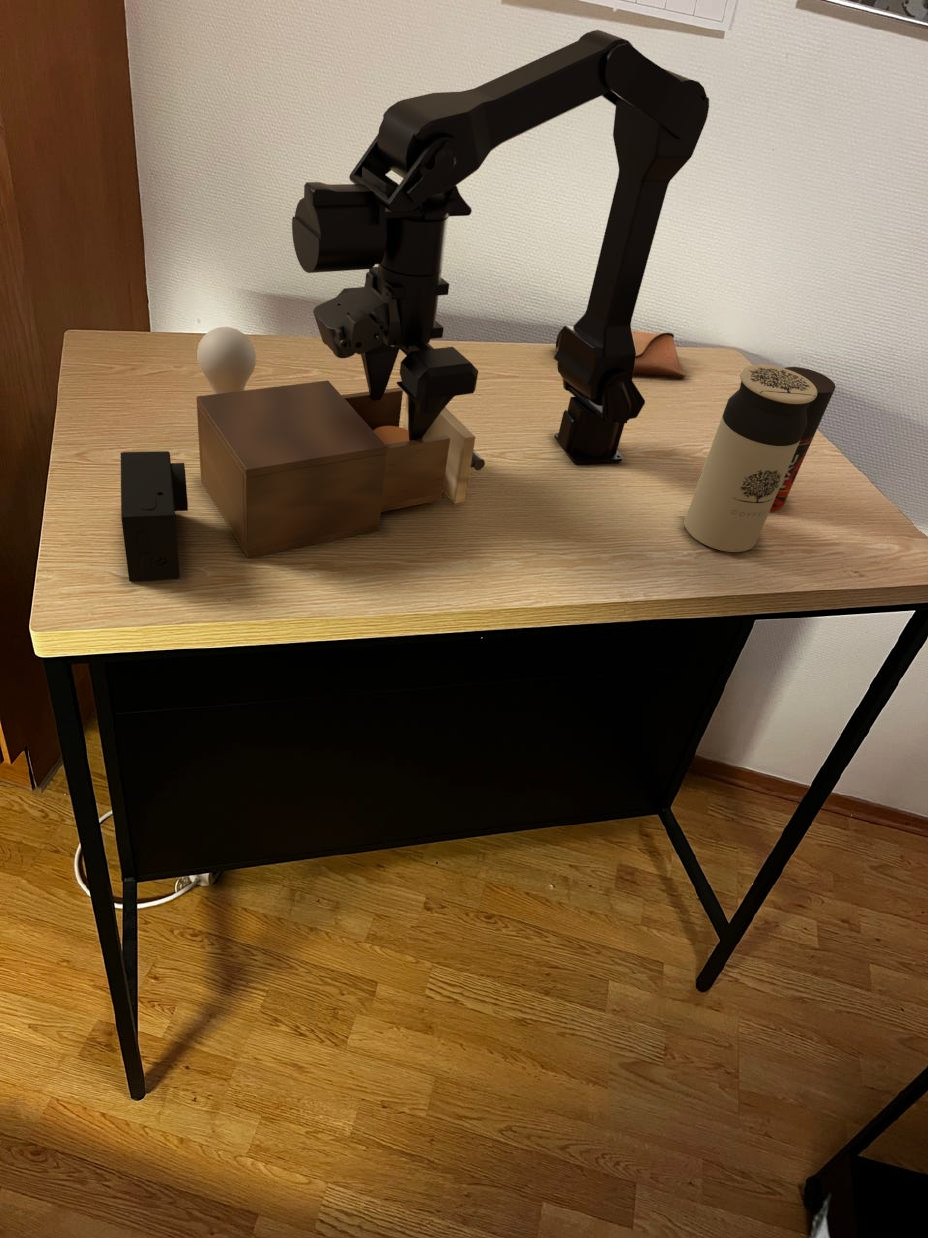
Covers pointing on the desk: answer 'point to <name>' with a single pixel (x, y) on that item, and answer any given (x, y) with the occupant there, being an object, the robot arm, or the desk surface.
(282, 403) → the cabinet
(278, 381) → the desk surface
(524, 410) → the desk surface
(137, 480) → the digital camera
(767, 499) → the travel mug
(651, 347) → the sunglasses case
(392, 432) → the stacked orange cylinders
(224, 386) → the lightbulb
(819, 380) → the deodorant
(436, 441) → the drawer
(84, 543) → the desk surface
